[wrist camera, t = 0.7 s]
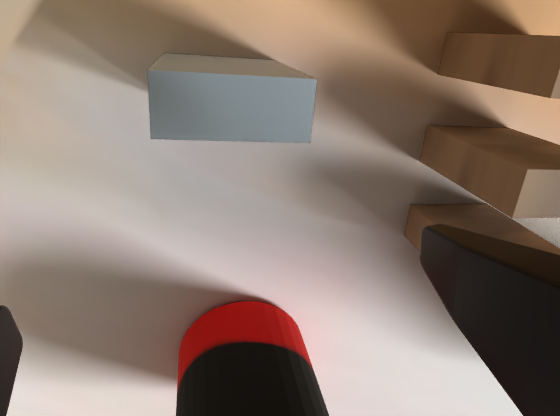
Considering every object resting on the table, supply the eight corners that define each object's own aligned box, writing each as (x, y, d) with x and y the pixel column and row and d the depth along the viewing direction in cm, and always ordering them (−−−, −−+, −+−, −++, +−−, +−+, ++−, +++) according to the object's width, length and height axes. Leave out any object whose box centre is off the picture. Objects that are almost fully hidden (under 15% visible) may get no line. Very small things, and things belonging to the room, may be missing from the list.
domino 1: (274, 60, 20) (317, 79, 13) (271, 103, 20) (310, 143, 14) (164, 53, 19) (147, 69, 12) (165, 98, 19) (151, 139, 13)
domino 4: (486, 204, 25) (594, 269, 18) (478, 233, 26) (577, 307, 19) (410, 204, 24) (494, 274, 17) (404, 235, 25) (481, 313, 18)
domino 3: (508, 128, 23) (635, 170, 17) (498, 162, 24) (616, 216, 17) (427, 125, 22) (527, 169, 16) (419, 161, 23) (512, 218, 16)
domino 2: (533, 39, 22) (688, 47, 15) (522, 79, 22) (664, 103, 16) (446, 32, 21) (570, 36, 14) (437, 74, 21) (550, 97, 15)
